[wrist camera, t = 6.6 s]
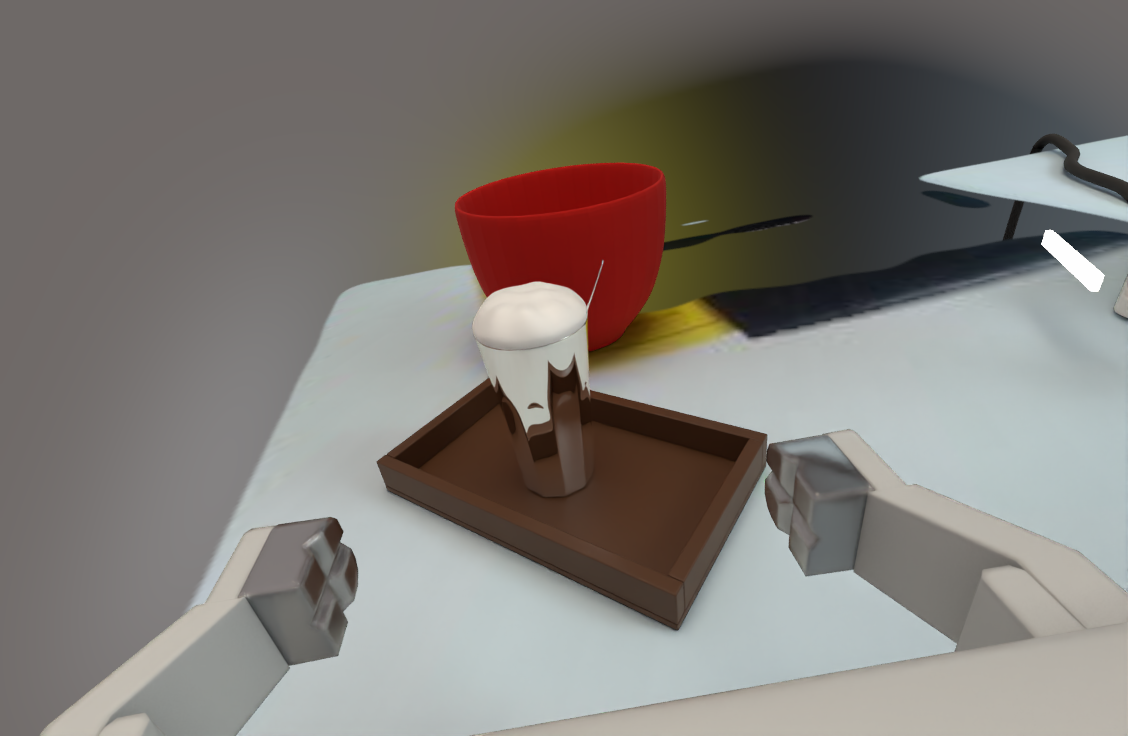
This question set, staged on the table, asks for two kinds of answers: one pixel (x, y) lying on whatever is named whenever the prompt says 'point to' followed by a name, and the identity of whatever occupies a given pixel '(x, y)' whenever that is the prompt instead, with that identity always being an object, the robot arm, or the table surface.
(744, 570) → the table surface
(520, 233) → the ceramic cup
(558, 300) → the milkshake
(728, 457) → the tray
